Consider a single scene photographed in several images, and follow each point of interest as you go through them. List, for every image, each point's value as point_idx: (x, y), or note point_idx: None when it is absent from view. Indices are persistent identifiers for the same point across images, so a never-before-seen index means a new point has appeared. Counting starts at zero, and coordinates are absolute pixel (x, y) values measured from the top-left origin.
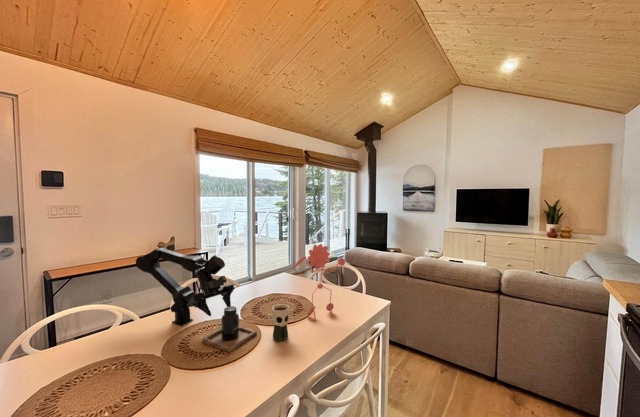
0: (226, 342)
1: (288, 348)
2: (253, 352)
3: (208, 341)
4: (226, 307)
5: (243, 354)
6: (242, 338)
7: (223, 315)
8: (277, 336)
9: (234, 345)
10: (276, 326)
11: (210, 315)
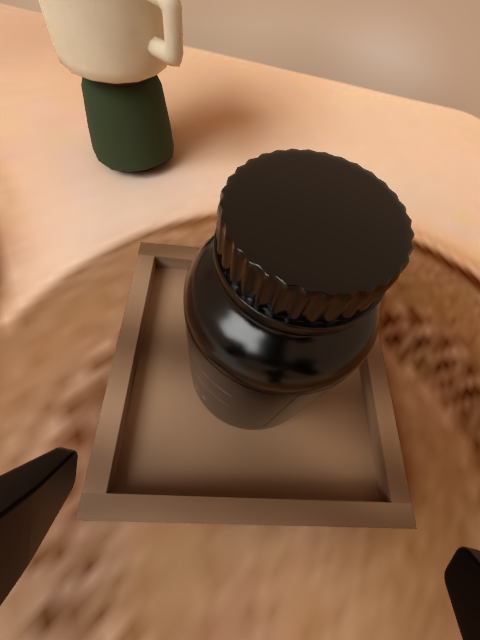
0: None
1: (198, 114)
2: None
3: (396, 446)
4: (328, 285)
5: None
6: None
7: (350, 341)
8: (170, 127)
9: None
10: (153, 80)
11: (472, 552)
